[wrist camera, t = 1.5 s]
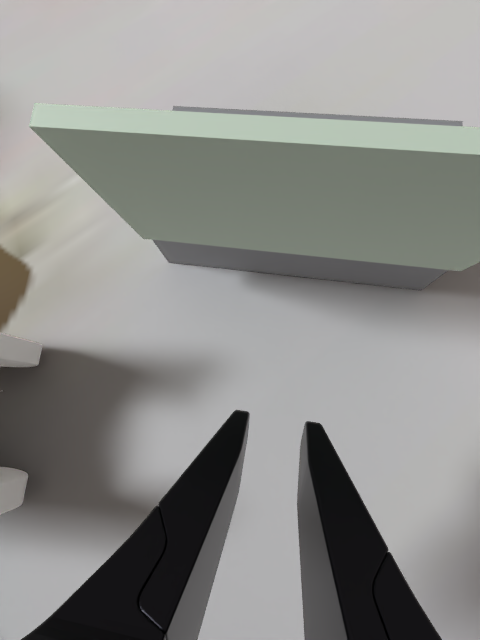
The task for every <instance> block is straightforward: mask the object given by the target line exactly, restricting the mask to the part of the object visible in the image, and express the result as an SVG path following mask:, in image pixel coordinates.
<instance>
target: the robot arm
mask: <svg viewBox="0 0 480 640" xmlns="http://www.w3.org/2000/svg"><path fill="white" fill-rule="evenodd" d="M249 416H250V414H249V412H247V411H241V410H235V411H234V412H233V413H232V414H231V416H230V417H229V418H228V419H227V421H226V422H225V423H224V424H223V425H222V427H221V428H220V429H219V430H218V431H217V433H216V434H215V435H214V436H213V438H212V439H211V440H210V441H209V442H208V444H207V445H206V446H205V447H204V449H203V450H202V451H201V452H200V453H199V455H198V456H197V457H196V458H195V459H194V461H193V462H192V463H191V464H190V466H189V467H188V468H187V469H186V470H185V472H184V473H183V474H182V475H181V477H180V478H179V479H178V480H177V481H176V483H175V484H174V485H173V486H172V487H171V489H170V490H169V491H168V492H167V494H166V495H165V496H164V497H163V498H162V500H161V501H160V502H159V506H156V507H155V508H154V509H153V510H152V512H151V513H150V514H149V515H148V516H147V518H146V519H145V520H144V521H143V522H142V523H141V525H140V526H139V527H138V528H137V529H136V530H135V532H134V533H133V534H132V535H131V536H130V537H129V538H128V539H127V540H126V541H125V542H124V544H123V545H122V546H121V547H120V548H119V549H118V550H117V551H116V552H115V553H114V554H113V555H112V556H111V557H110V558H109V559H108V560H107V561H106V562H105V563H104V564H103V565H102V566H101V567H100V568H99V569H98V570H97V571H96V572H95V573H94V574H93V575H92V576H91V577H90V578H89V579H88V580H87V581H86V582H85V583H84V584H83V585H82V586H81V587H80V588H79V589H78V590H77V591H76V592H75V593H74V594H73V595H72V596H71V597H70V598H69V599H68V600H67V601H66V602H65V603H64V604H63V605H62V606H61V607H60V608H58V609H57V610H56V611H55V612H54V613H53V614H52V615H51V616H50V617H49V618H48V619H47V620H45V621H44V622H43V623H42V624H41V625H40V626H38V627H37V628H36V629H35V630H33V631H32V632H31V633H30V634H28V635H27V636H25V637H24V638H22V639H21V640H197V639H198V635H199V632H200V628H201V624H202V621H203V617H204V614H205V610H206V607H207V603H208V600H209V596H210V593H211V589H212V585H213V582H214V578H215V575H216V571H217V568H218V564H219V561H220V557H221V554H222V550H223V546H224V543H225V539H226V536H227V532H228V529H229V525H230V522H231V518H232V514H233V511H234V507H235V504H236V500H237V496H238V492H239V487H240V481H241V475H242V469H243V462H244V456H245V450H246V444H247V437H248V428H249ZM297 510H298V529H299V547H300V565H301V582H302V600H303V618H304V635H305V640H442V639H441V637H440V636H439V634H438V633H437V631H436V630H435V628H434V627H433V625H432V623H431V622H430V620H429V619H428V617H427V615H426V614H425V612H424V611H423V609H422V607H421V606H420V604H419V603H418V601H417V599H416V598H415V596H414V594H413V592H412V591H411V589H410V587H409V585H408V584H407V582H406V580H405V578H404V576H403V575H402V573H401V571H400V569H399V567H398V566H397V564H396V562H395V560H394V558H393V556H392V554H391V553H390V552H388V547H387V545H386V544H385V542H384V540H383V538H382V536H381V534H380V532H379V531H378V529H377V527H376V525H375V523H374V521H373V519H372V518H371V516H370V514H369V512H368V510H367V508H366V506H365V505H364V503H363V501H362V499H361V497H360V495H359V493H358V492H357V490H356V488H355V486H354V484H353V482H352V480H351V479H350V477H349V475H348V473H347V471H346V469H345V467H344V466H343V464H342V462H341V460H340V458H339V456H338V454H337V453H336V451H335V449H334V447H333V445H332V443H331V441H330V440H329V438H328V436H327V434H326V432H325V430H324V428H323V427H322V425H321V424H320V423H316V422H309V421H307V422H306V423H305V426H304V430H303V435H302V439H301V446H300V461H299V478H298V497H297Z"/></svg>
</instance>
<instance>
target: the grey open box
mask: <svg viewBox="0 0 480 640" xmlns="http://www.w3.org/2000/svg"><path fill="white" fill-rule="evenodd" d="M173 111H187V112H205V113H224V114H242V115H261V116H279V117H298V118H316V119H334V120H353V121H371V122H390V123H408V124H427V125H445V126H462V121H447V120H428V119H409V118H390V117H371V116H352V115H333V114H314V113H295V112H276V111H257V110H238V109H219V108H200V107H181V106H173ZM153 241H154V243H155V244H156V245H157V247H158V248H159V250H160V251H161V252H162V254H163V255H164V257H165V258H166V259H167V261H168V262H171V263H180V264H189V265H198V266H207V267H216V268H225V269H234V270H243V271H252V272H261V273H270V274H279V275H288V276H297V277H306V278H315V279H324V280H334V281H343V282H352V283H361V284H370V285H379V286H388V287H397V288H406V289H415V290H422V289H423V288H425V287H426V286H428V285H429V284H430V283H432V282H433V281H434V280H436V279H437V278H438V277H440V276H441V275H443V274H444V273H445V272H447V271H448V270H443V269H434V268H424V267H414V266H404V265H395V264H385V263H375V262H365V261H356V260H346V259H336V258H326V257H317V256H307V255H297V254H288V253H278V252H268V251H258V250H249V249H239V248H229V247H219V246H210V245H200V244H190V243H180V242H171V241H161V240H153Z"/></svg>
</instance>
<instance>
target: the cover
mask: <svg viewBox="0 0 480 640" xmlns="http://www.w3.org/2000/svg"><path fill="white" fill-rule="evenodd" d="M29 127H30V128H31V129H32V130H33V131H34V132H35V133H36V134H37V135H38V136H39V137H40V138H42V139H43V140H44V141H45V142H46V143H47V144H48V145H49V146H50V147H51V148H52V149H53V150H54V151H55V152H56V153H57V154H58V155H59V156H60V157H61V158H62V159H63V160H64V161H65V162H66V163H67V164H68V165H69V166H70V167H71V168H72V169H73V170H74V171H75V172H76V173H77V174H78V175H79V176H80V177H81V178H82V179H83V180H84V181H85V182H86V183H87V184H88V185H89V186H90V187H91V188H92V189H93V190H94V191H95V192H96V193H97V194H98V195H99V196H100V197H101V198H102V199H103V200H104V201H105V202H106V203H107V204H108V205H109V206H110V207H111V208H113V209H114V210H115V211H116V212H117V213H118V214H119V215H120V216H121V217H122V218H123V219H124V220H125V221H126V222H127V223H128V224H129V225H130V226H131V227H132V228H133V229H134V230H135V231H136V232H137V233H138V234H139V235H140V236H141V237H142V238H143V239H151V240H161V241H171V242H180V243H190V244H200V245H210V246H219V247H229V248H239V249H249V250H258V251H268V252H278V253H288V254H297V255H307V256H317V257H326V258H336V259H346V260H356V261H365V262H375V263H385V264H395V265H404V266H414V267H424V268H434V269H443V270H453V271H463V270H465V269H467V268H469V267H471V266H473V265H475V264H477V263H479V262H480V127H463V126H445V125H427V124H408V123H390V122H371V121H353V120H334V119H316V118H298V117H279V116H261V115H242V114H224V113H205V112H187V111H169V110H150V109H132V108H113V107H95V106H76V105H58V104H39V103H35V104H34V108H33V112H32V116H31V120H30V124H29Z"/></svg>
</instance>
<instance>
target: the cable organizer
mask: <svg viewBox="0 0 480 640" xmlns="http://www.w3.org/2000/svg"><path fill="white" fill-rule="evenodd" d="M41 351H42V345H41V344H40V343H37V342H34V341H30V340H27V339H23V338H19V337H15V336H11V335H7V334H4V333H0V368H1V366H3V367H33V366H37V365H39V360H40V356H41ZM0 391H1V390H0ZM27 480H28V474H27V473H26V472H24V471H22V470H19V469H14V468H8V467H0V515H1V514H4V513H6V512H8V511H11V510H13V509H15V508H17V507H19V506H21V505H22V503H23V500H24V495H25V490H26V485H27Z"/></svg>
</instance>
